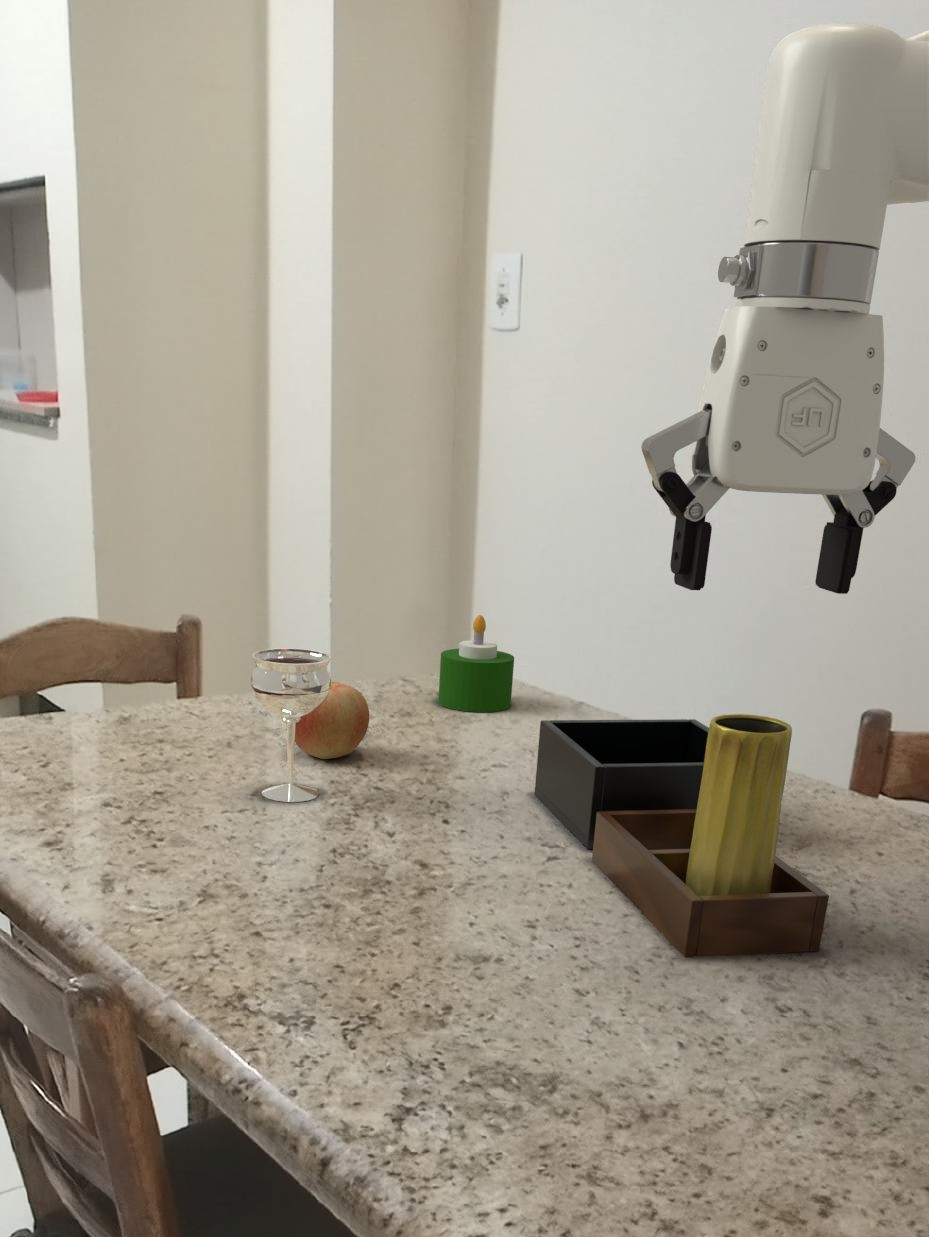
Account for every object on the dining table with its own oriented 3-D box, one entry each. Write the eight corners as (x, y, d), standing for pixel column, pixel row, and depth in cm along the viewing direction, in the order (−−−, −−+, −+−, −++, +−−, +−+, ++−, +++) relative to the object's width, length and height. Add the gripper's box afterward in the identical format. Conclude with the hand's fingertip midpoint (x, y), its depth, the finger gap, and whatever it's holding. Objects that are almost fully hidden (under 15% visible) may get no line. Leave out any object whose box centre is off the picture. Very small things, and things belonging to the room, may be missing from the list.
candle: (516, 699, 151) (522, 612, 147) (504, 715, 144) (510, 624, 140) (446, 692, 153) (451, 606, 149) (431, 707, 145) (435, 617, 142)
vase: (767, 915, 92) (798, 717, 86) (768, 949, 86) (801, 739, 81) (679, 904, 93) (705, 708, 87) (675, 936, 87) (701, 729, 82)
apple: (305, 770, 120) (306, 684, 117) (273, 748, 127) (273, 666, 124) (382, 762, 124) (385, 679, 121) (348, 741, 130) (350, 662, 127)
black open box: (686, 791, 119) (695, 719, 117) (756, 844, 106) (768, 764, 104) (534, 794, 116) (540, 720, 114) (587, 849, 103) (595, 766, 100)
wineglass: (287, 810, 109) (288, 668, 104) (235, 791, 113) (234, 653, 108) (345, 795, 113) (348, 658, 109) (293, 777, 118) (294, 645, 113)
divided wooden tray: (706, 856, 103) (713, 808, 101) (819, 951, 86) (829, 895, 85) (591, 860, 101) (596, 811, 99) (684, 958, 84) (692, 900, 83)
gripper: (690, 270, 69) (652, 595, 76) (977, 292, 73) (918, 601, 79) (640, 279, 76) (608, 577, 82) (905, 299, 80) (855, 583, 86)
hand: (760, 588), depth 81 cm, fingers open, 9 cm apart
